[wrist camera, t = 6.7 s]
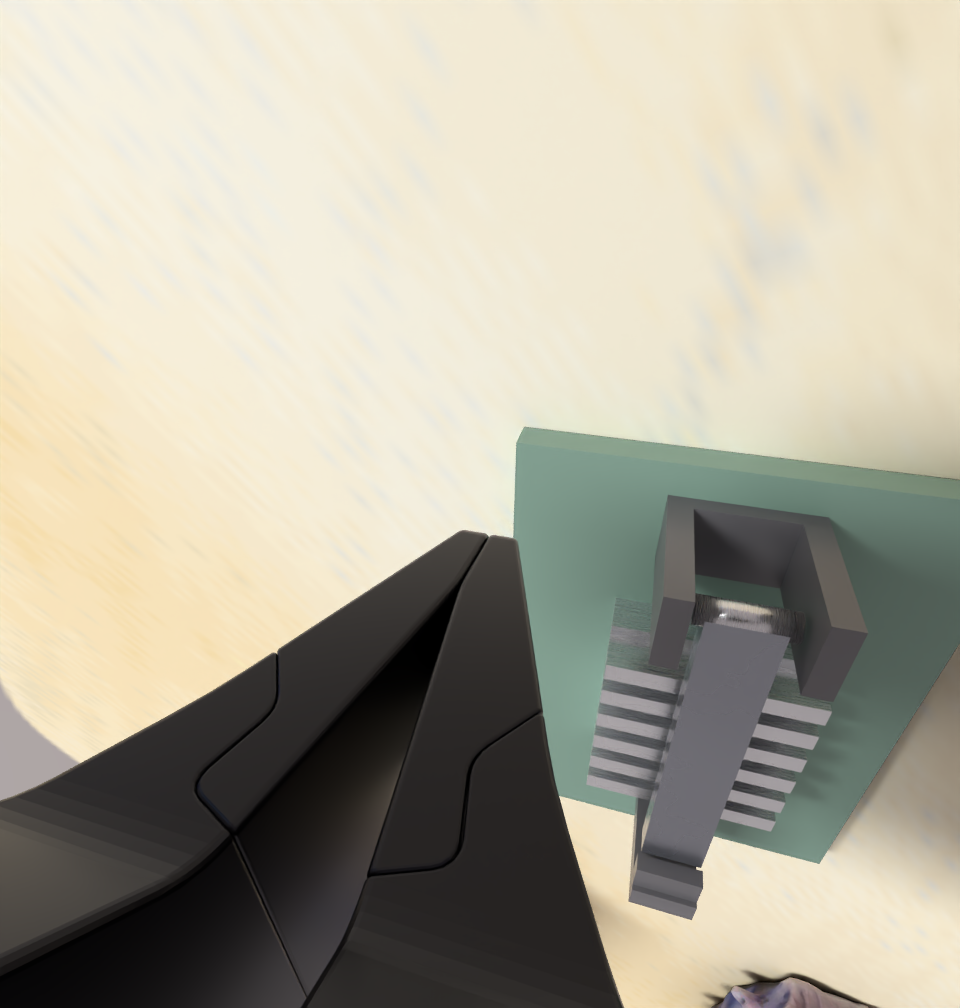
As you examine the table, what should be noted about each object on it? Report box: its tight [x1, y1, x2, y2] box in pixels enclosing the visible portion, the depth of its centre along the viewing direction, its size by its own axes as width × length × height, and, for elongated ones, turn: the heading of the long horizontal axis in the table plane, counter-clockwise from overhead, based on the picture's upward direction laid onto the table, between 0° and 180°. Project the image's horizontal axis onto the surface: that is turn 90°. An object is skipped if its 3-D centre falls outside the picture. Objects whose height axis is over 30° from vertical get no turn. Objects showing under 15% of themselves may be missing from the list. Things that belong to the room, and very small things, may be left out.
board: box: [513, 427, 960, 864], centre depth 24 cm, size 15×20×1 cm
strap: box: [641, 593, 806, 868], centre depth 20 cm, size 12×3×1 cm, turn 1°
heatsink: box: [586, 598, 832, 832], centre depth 23 cm, size 7×8×3 cm
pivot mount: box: [648, 495, 868, 702], centre depth 18 cm, size 5×3×5 cm, turn 91°
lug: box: [629, 797, 703, 920], centre depth 25 cm, size 2×2×5 cm
